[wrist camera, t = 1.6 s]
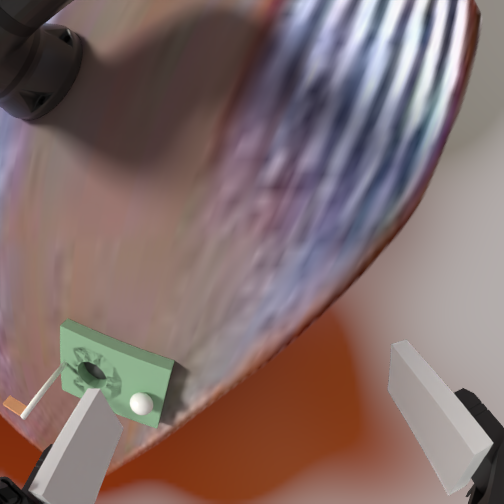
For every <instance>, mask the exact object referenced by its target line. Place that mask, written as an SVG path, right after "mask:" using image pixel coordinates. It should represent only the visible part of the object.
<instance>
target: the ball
mask: <svg viewBox="0 0 504 504" xmlns="http://www.w3.org/2000/svg"><path fill="white" fill-rule="evenodd" d="M130 407H131V409H132V410H133V411H134V412H135V413H136V414H138V415H147V414H149V413H150V412H151V411H152V409H153V401H152V399H151V397H150V396H149V395H147V394H146V393H142V392H139V393H135V394H134V395H133V396H132V397H131V399H130Z"/></svg>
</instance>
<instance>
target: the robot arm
mask: <svg viewBox="0 0 504 504" xmlns="http://www.w3.org/2000/svg"><path fill="white" fill-rule="evenodd" d="M72 1H74V0H0V107H1V108H3V109H4V110H5V111H6V112H7V113H9V114H10V115H11V116H13V117H16V118H21V119H27V120H30V119H36V118H38V117H41V116H43V115H45V114H46V113H48V112H49V111H50V110H52V109H53V108H54V107H55V106H56V105H57V104H58V103H59V102H60V101H61V100H62V99H63V97H64V96H65V95H66V93H67V92H68V90H69V89H70V87H71V86H72V84H73V82H74V80H75V78H76V76H77V73H78V71H79V68H80V64H81V59H82V45H81V41H80V39H79V37H78V36H77V35H76V34H75V33H74V32H73V31H71V30H70V29H69V28H67V27H65V26H62V25H57V24H48V23H46V22H47V21H48V20H49V19H50V18H52V17H53V16H54V15H55V14H57V13H58V12H59V11H60V10H62V9H63V8H64V7H65V6H67V5H68V4H69V3H71V2H72ZM388 392H389V394H390V395H391V397H392V398H393V400H394V402H395V403H396V405H397V407H398V408H399V410H400V411H401V413H402V415H403V417H404V418H405V420H406V422H407V423H408V425H409V427H410V429H411V430H412V432H413V433H414V435H415V437H416V439H417V441H418V442H419V444H420V446H421V447H422V449H423V451H424V453H425V454H426V456H427V458H428V459H429V462H430V463H431V465H432V467H433V469H434V470H435V472H436V474H437V476H438V478H439V479H440V481H441V483H442V485H443V487H444V489H445V491H446V493H447V494H448V496H449V495H450V494H452V493H454V492H456V491H458V490H459V489H461V488H463V487H465V486H466V485H467V483H468V482H469V481H470V479H471V478H472V480H473V482H474V485H473V486H472V488H471V489H470V490H469V491H468V493H467V495H466V497H468V496H469V495H470V494H471V495H470V499H469V502H468V504H504V428H503V426H502V425H501V424H500V423H499V422H498V420H497V419H496V418H495V417H494V416H493V415H492V413H491V412H490V411H489V410H487V408H486V407H485V405H484V404H482V403H481V401H480V400H479V399H478V397H477V396H476V395H475V394H474V393H472V392H470V391H468V390H466V389H464V388H463V389H461V390H459V391H457V392H455V393H453V392H452V391H451V390H450V388H449V387H448V386H447V385H446V384H445V382H444V381H443V380H442V379H441V378H440V377H439V375H438V374H437V373H436V372H435V371H434V370H433V369H432V367H431V366H430V365H429V364H428V363H427V362H426V361H425V359H424V358H423V357H422V356H421V355H420V354H419V353H418V352H417V351H416V349H414V347H413V346H412V345H411V344H410V343H409V342H408V341H407V340H406V339H405V340H402V341H399V342H396V343H393V344H391V355H390V369H389V380H388ZM122 431H123V427H122V425H121V423H120V422H119V420H118V419H117V417H116V415H115V414H114V412H113V410H112V409H111V407H110V405H109V404H108V402H107V400H106V398H105V397H104V395H103V393H102V391H101V389H91V388H88V389H87V390H86V392H85V394H84V395H83V397H82V398H81V400H80V401H79V403H78V405H77V406H76V408H75V409H74V411H73V413H72V414H71V416H70V418H69V419H68V421H67V423H66V424H65V426H64V428H63V429H62V431H61V433H60V434H59V436H58V438H57V439H56V441H55V443H54V444H51V445H50V446H48V447H47V448H46V449H45V450H44V451H43V453H42V455H41V457H40V458H39V460H38V462H37V463H36V467H34V469H33V471H32V472H31V474H30V476H29V478H28V480H27V482H26V483H25V485H24V487H23V488H22V490H21V489H20V488H19V487H17V485H15V484H14V482H12V481H11V480H10V479H9V478H8V477H0V504H94V503H95V500H96V498H97V495H98V492H99V489H100V487H101V484H102V481H103V479H104V476H105V474H106V471H107V468H108V466H109V463H110V461H111V458H112V456H113V453H114V451H115V448H116V446H117V443H118V441H119V438H120V436H121V433H122Z"/></svg>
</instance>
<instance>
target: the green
mask: <svg viewBox="0 0 504 504" xmlns="http://www.w3.org/2000/svg"><path fill="white" fill-rule="evenodd" d="M60 360H61V365H60V366H59V367H58V369H57V370H56V371H55V372H54V373H53V375H52V376H51V377H50V378H49V379H48V381H47V382H46V383H45V384H44V386H43V387H42V388H41V389H40V391H39V392H38V393H37V394H36V396H35V397H34V398H33V400H32V401H31V402H30V403H29V405H28V406H25V405H24V404H22V403H21V402H19V401H18V400H16V399H15V398H13V397H12V396H9V397H8V398H7V399H6V400H5V402H4V403H3V405H4V406H6V407H7V408H9V409H10V410H11V411H13V412H14V413H16V414H18V415H19V416H21V418H22V419H24V420H25V419H26V417H27V416H28V415H29V413H30V412H31V411H32V409H33V408H34V407H35V405H36V404H37V403H38V401H39V400H40V399H41V397H42V396H43V395H44V393H45V392H46V391H47V390H48V388H49V387H50V386H51V384H52V383H53V382H54V381H55V379H56V378H57V377H58V376H59V374H60V373H61V380H62V389H63V390H65V391H67V392H69V393H71V394H73V395H75V396H77V397H79V398H82V397H83V395H84V394H85V392H86V390H87V389H88V388H91V389H101V391H102V393H103V395H104V397H105V398H106V400H107V402H108V404H109V405H110V407H111V409H112V410H113V412H114V413H116V414H118V415H121V416H123V417H126V418H129V419H131V420H134V421H137V422H139V423H142V424H145V425H148V426H151V427H154V428H157V427H158V424H159V420H160V417H161V412H162V408H163V404H164V400H165V396H166V392H167V388H168V384H169V380H170V376H171V372H172V368H173V365H174V360H171V359H168V358H165V357H162V356H159V355H156V354H154V353H151V352H148V351H145V350H142V349H140V348H137V347H134V346H132V345H129V344H126V343H124V342H121V341H119V340H116V339H114V338H111V337H109V336H106V335H104V334H102V333H99V332H97V331H95V330H92V329H90V328H88V327H86V326H83V325H81V324H79V323H77V322H74V321H72V320H70V319H67V320H66V321H65V322H63V323H62V324H61V325H60ZM84 364H85V365H84ZM139 392H142V393H146V394H147V395H149V396H150V397H151V399H152V401H153V409H152V411H151V412H150V413H149V414H147V415H138V414H136V413H135V412H134V411H133V410H132V409H131V407H130V399H131V397H132V396H133V395H134V394H135V393H139Z"/></svg>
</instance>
